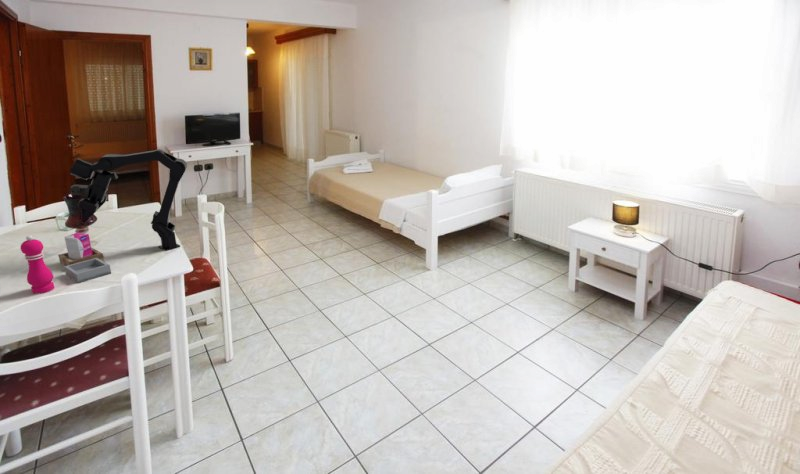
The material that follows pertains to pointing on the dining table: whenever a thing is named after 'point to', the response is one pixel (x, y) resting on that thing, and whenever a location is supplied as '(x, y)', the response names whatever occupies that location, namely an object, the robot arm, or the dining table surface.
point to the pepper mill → (37, 266)
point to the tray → (87, 270)
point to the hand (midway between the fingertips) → (86, 218)
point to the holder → (66, 261)
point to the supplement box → (78, 246)
